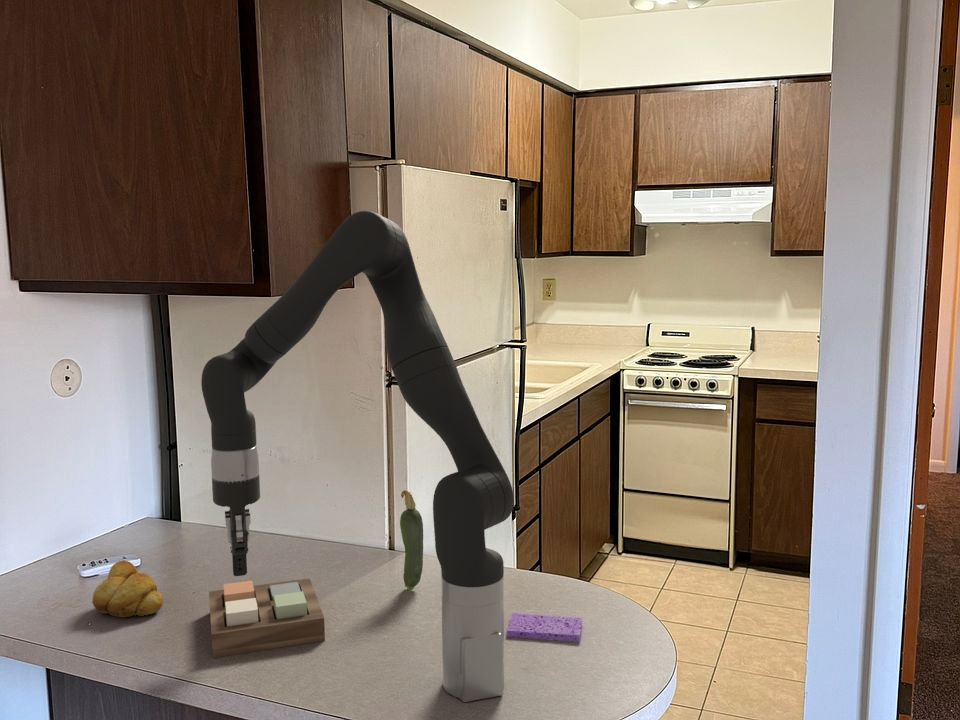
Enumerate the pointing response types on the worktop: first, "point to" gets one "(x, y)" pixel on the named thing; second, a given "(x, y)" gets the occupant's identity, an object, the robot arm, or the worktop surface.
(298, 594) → the key sage
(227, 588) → the key terracotta
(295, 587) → the key slate
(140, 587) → the bread roll
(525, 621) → the sponges
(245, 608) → the key cream
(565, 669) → the worktop surface
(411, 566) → the vegetable
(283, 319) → the robot arm
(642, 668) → the worktop surface
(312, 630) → the keypad
